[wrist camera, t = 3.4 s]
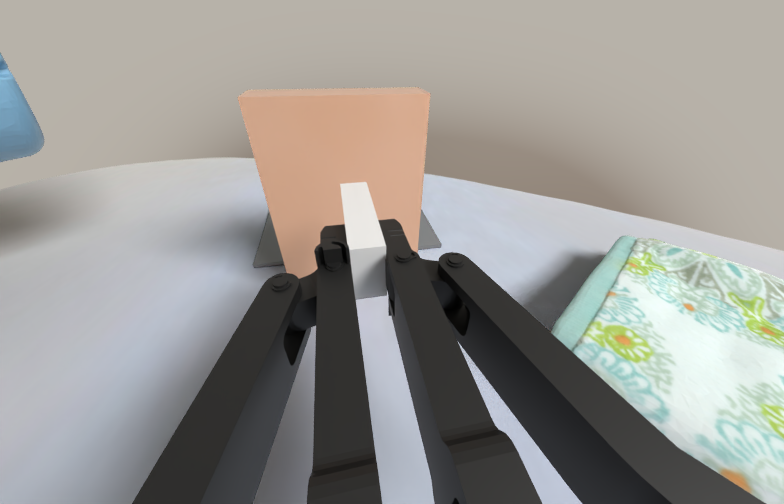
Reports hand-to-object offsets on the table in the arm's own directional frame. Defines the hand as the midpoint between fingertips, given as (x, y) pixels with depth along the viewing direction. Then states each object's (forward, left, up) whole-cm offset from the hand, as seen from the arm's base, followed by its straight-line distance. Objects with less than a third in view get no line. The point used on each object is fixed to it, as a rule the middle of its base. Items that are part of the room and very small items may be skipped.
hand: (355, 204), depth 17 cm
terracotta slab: (-1, +7, -11) cm, 13 cm away
